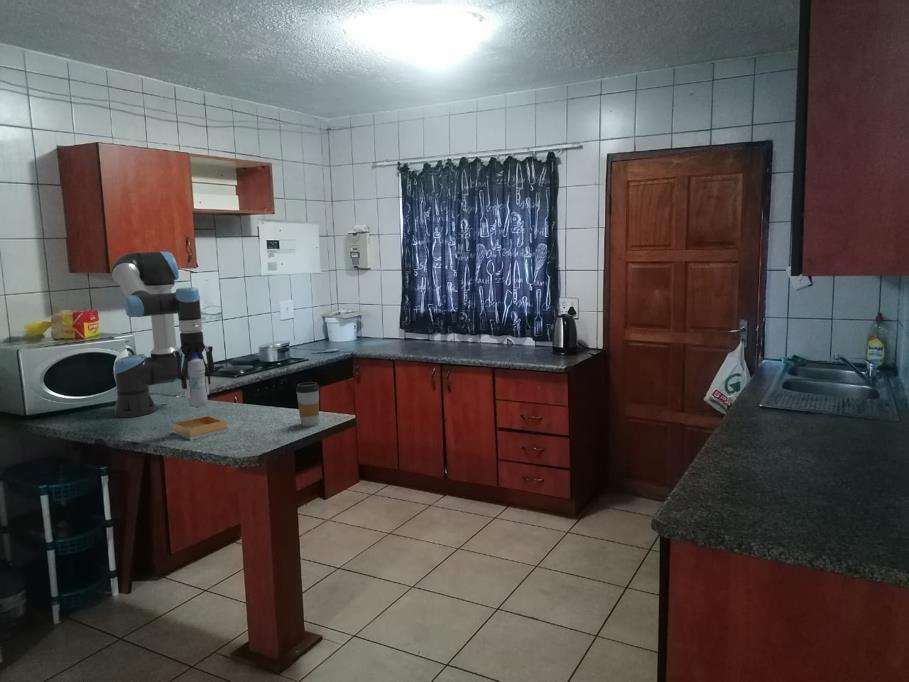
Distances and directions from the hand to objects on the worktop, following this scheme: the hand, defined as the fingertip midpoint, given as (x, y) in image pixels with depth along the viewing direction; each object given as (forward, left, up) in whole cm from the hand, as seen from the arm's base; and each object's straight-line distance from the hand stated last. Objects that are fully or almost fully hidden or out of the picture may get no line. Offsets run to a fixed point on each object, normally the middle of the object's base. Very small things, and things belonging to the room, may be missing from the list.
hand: (197, 395), depth 235 cm
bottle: (0, 0, -4) cm, 4 cm away
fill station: (0, 0, -13) cm, 14 cm away
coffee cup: (+23, +31, -14) cm, 41 cm away
